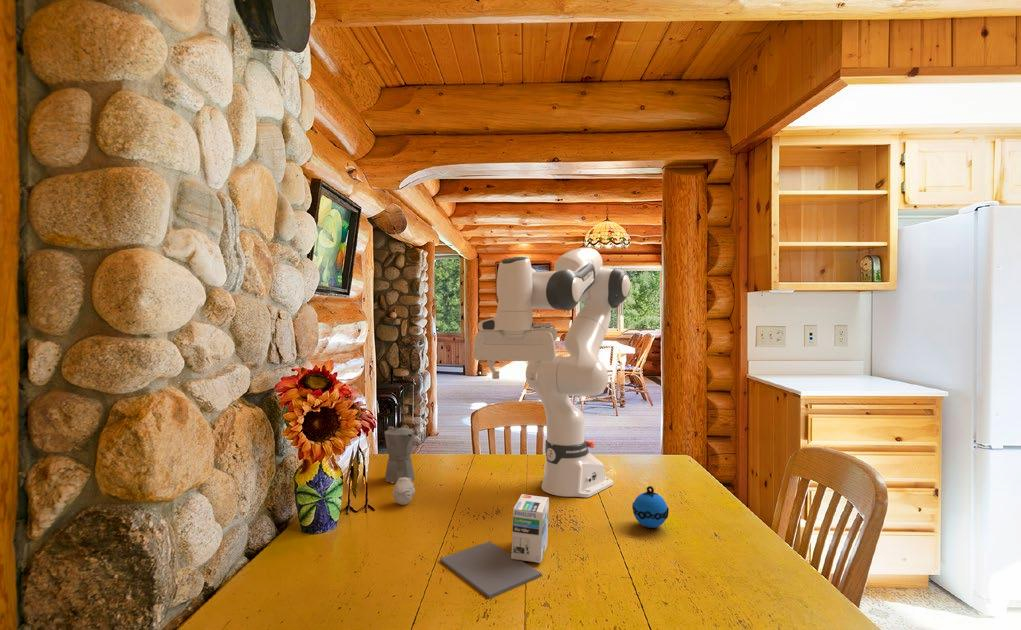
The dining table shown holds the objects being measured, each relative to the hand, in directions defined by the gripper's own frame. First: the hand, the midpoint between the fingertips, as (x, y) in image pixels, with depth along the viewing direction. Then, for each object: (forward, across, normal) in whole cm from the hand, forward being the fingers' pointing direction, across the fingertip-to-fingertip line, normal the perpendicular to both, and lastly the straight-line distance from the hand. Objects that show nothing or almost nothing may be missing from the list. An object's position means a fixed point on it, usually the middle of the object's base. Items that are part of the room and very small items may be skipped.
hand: (514, 379), depth 130 cm
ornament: (+37, -33, -5) cm, 50 cm away
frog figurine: (+37, +32, -9) cm, 50 cm away
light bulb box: (+36, -6, +13) cm, 39 cm away
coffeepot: (+37, +41, -29) cm, 62 cm away
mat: (+36, +2, +21) cm, 42 cm away
